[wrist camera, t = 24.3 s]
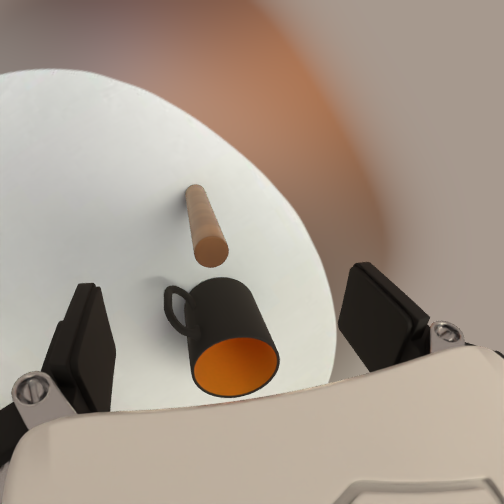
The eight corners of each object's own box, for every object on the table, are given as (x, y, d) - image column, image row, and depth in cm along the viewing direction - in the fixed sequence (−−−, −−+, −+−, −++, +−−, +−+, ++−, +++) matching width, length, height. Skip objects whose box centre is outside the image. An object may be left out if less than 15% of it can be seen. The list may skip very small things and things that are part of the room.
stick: (186, 183, 30) (195, 235, 17) (206, 185, 30) (230, 236, 18) (184, 203, 30) (193, 267, 18) (204, 204, 31) (226, 268, 19)
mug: (188, 243, 32) (196, 297, 23) (267, 300, 38) (297, 358, 28) (143, 298, 34) (138, 361, 24) (223, 345, 39) (239, 407, 30)
